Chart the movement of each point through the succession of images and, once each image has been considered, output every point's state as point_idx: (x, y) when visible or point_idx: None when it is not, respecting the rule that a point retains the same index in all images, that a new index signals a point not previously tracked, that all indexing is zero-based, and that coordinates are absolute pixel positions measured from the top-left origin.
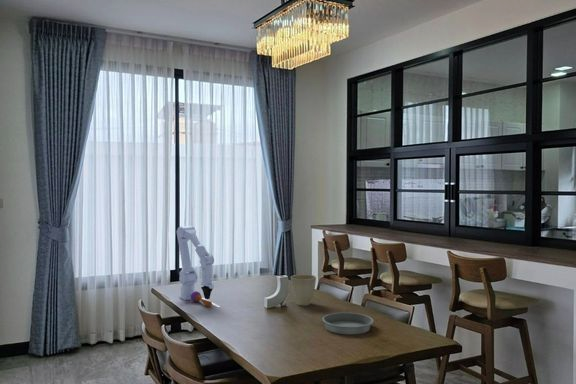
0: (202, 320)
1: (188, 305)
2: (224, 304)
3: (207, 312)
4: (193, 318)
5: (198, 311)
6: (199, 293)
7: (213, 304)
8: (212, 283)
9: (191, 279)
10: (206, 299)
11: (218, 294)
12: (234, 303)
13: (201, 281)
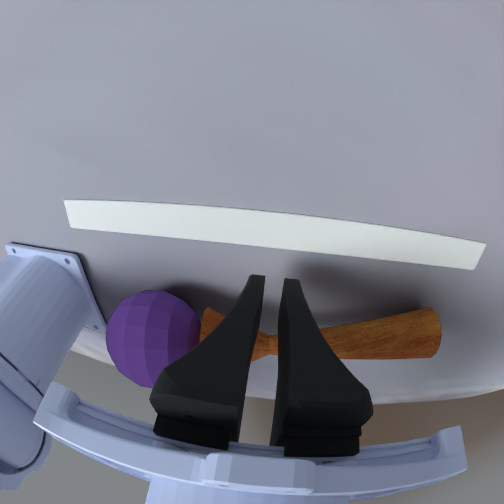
0: (499, 381)
1: (253, 369)
2: (457, 162)
3: (472, 351)
4: (461, 397)
5: (420, 374)
6: (166, 355)
7: (383, 250)
8: (312, 484)
9: (1, 412)
10: (129, 202)
11: (12, 36)
12: (489, 63)
13: (60, 440)
